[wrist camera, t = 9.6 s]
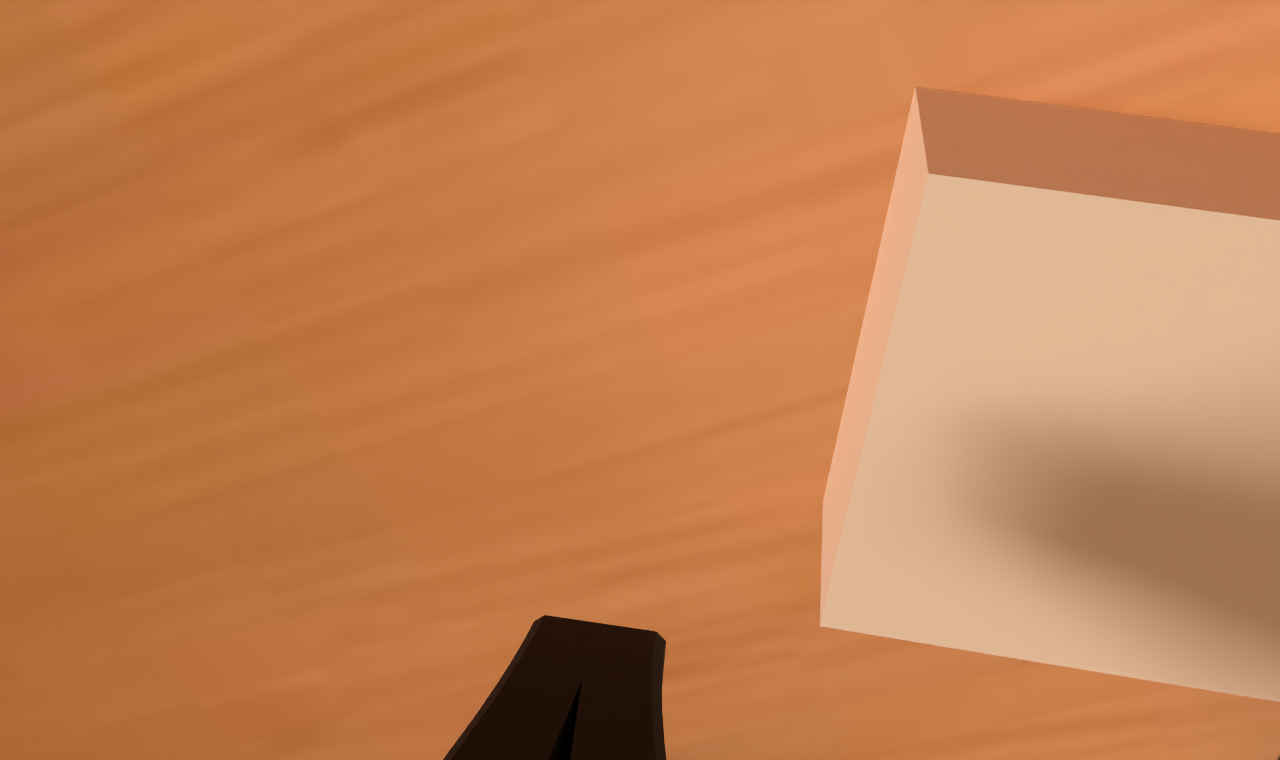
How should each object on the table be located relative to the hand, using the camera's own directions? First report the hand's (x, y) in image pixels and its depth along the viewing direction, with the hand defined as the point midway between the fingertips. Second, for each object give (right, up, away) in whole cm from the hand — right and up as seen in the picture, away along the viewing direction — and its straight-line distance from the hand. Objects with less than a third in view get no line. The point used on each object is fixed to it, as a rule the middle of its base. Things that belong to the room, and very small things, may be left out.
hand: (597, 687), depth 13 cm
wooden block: (+8, +4, +7) cm, 11 cm away
